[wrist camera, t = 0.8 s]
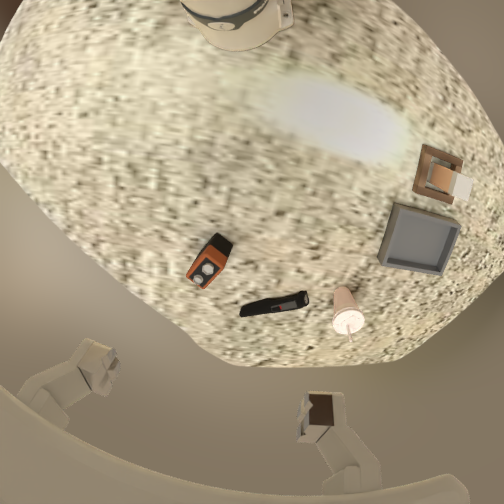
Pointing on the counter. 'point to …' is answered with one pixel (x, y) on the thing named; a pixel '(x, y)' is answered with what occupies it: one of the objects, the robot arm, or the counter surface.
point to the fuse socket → (424, 169)
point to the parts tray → (418, 240)
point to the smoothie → (346, 313)
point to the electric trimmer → (275, 305)
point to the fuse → (450, 181)
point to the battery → (210, 261)
